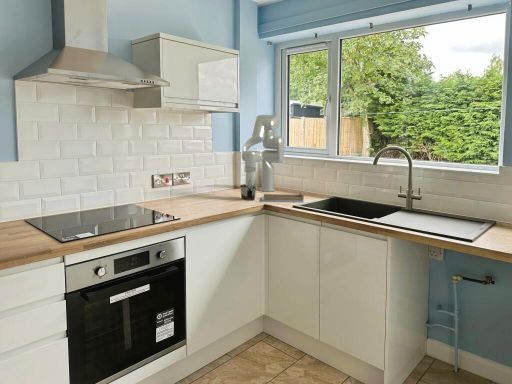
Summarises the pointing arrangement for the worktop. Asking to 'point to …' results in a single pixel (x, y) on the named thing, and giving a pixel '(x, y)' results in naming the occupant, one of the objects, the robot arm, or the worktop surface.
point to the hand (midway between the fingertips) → (249, 195)
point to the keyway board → (282, 198)
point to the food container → (244, 192)
